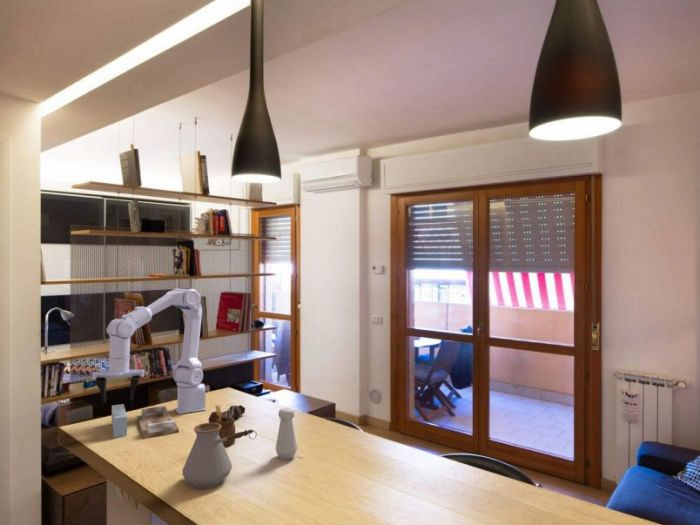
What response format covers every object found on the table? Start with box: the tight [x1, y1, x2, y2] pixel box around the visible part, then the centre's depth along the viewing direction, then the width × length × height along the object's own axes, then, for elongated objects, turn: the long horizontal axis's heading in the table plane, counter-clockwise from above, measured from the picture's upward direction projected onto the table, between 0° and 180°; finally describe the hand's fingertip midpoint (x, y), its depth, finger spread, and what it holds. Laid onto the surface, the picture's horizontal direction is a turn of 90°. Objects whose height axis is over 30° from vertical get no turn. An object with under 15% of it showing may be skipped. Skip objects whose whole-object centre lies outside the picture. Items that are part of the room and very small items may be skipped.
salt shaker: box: [275, 407, 298, 461], centre depth 125 cm, size 6×6×13 cm
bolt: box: [208, 404, 246, 423], centre depth 154 cm, size 6×5×15 cm
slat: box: [111, 403, 128, 439], centre depth 146 cm, size 4×15×6 cm, turn 30°
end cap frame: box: [136, 405, 180, 439], centre depth 149 cm, size 10×20×4 cm, turn 30°
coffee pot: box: [182, 422, 257, 489], centre depth 108 cm, size 21×12×15 cm, turn 57°
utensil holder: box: [215, 403, 236, 447], centre depth 134 cm, size 6×6×12 cm
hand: (117, 400), depth 144 cm, fingers open, 7 cm apart
